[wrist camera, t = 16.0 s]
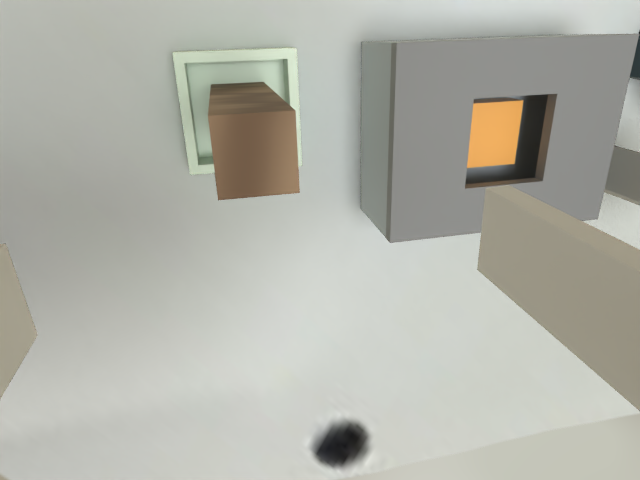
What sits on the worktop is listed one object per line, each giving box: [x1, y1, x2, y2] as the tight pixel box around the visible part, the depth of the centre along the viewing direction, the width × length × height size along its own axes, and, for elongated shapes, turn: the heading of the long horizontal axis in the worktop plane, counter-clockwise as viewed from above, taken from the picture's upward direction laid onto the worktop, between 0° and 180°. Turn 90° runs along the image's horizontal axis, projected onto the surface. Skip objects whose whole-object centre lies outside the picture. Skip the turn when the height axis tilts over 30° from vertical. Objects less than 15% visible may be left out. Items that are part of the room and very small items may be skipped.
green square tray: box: [172, 47, 302, 175], centre depth 36 cm, size 9×9×3 cm
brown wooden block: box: [208, 82, 300, 200], centre depth 29 cm, size 4×4×16 cm
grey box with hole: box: [361, 34, 639, 243], centre depth 38 cm, size 18×14×8 cm
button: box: [467, 98, 523, 168], centre depth 38 cm, size 5×5×2 cm
